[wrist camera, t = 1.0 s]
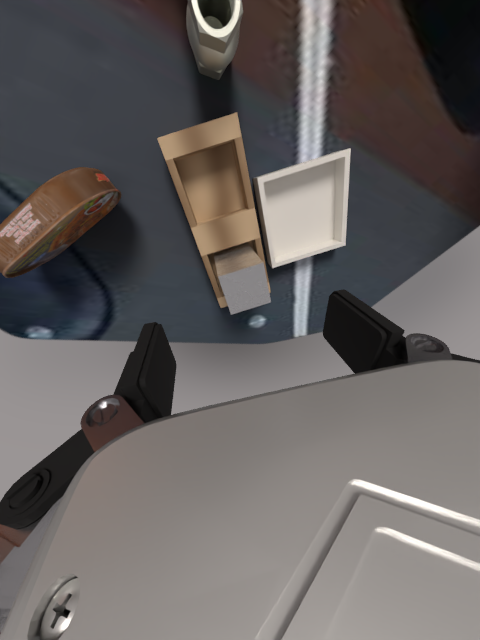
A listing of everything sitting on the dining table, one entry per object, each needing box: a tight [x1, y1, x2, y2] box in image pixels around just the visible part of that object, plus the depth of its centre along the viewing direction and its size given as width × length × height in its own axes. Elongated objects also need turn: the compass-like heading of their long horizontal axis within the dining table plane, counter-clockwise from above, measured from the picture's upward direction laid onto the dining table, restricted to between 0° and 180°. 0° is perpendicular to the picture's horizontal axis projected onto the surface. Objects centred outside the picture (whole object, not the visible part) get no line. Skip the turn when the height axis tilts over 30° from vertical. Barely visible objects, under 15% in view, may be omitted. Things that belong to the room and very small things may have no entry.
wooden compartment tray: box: [157, 113, 271, 308], centre depth 26 cm, size 8×20×3 cm, turn 15°
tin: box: [0, 167, 121, 278], centre depth 21 cm, size 15×3×8 cm, turn 122°
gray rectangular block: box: [213, 243, 271, 315], centre depth 26 cm, size 5×5×9 cm
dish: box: [253, 148, 351, 268], centre depth 27 cm, size 11×11×2 cm
